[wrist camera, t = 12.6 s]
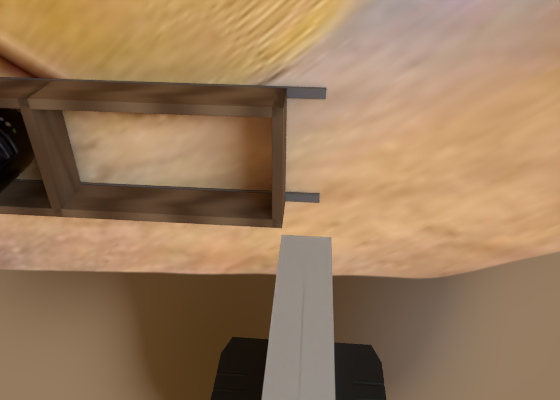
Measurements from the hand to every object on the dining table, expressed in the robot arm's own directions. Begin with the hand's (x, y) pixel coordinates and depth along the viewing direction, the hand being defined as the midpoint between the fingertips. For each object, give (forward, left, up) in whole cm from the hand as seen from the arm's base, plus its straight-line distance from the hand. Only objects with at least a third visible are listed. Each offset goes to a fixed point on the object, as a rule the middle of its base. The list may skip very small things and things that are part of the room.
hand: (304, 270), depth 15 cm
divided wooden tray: (+8, -17, -24) cm, 30 cm away
